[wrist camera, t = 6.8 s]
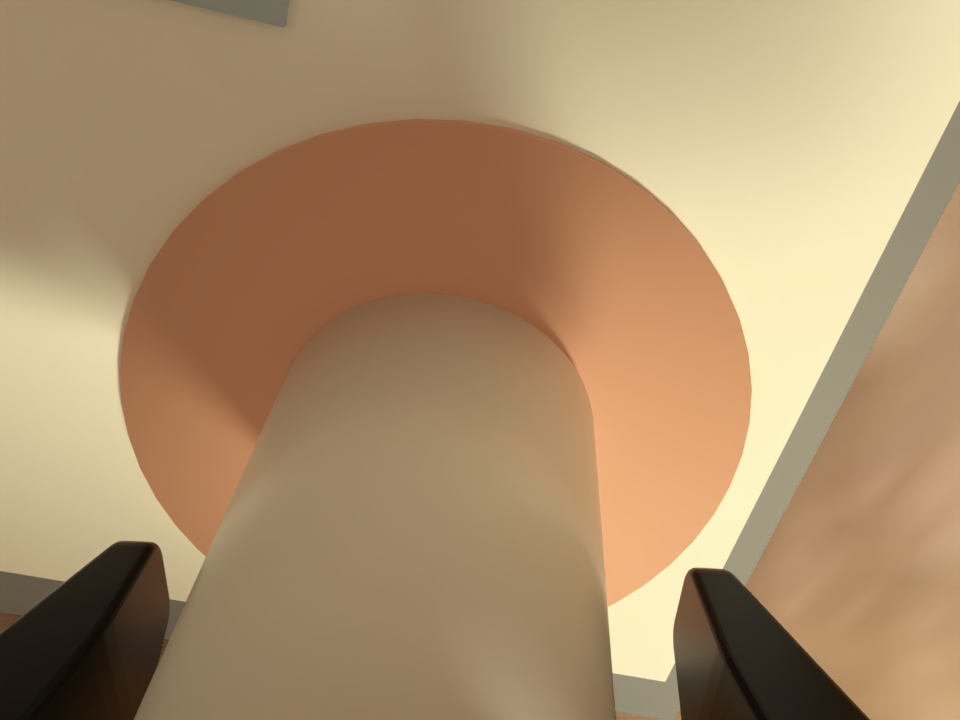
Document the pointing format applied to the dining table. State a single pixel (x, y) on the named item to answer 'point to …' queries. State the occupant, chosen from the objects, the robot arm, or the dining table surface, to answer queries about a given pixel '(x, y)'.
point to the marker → (406, 535)
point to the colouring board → (455, 247)
